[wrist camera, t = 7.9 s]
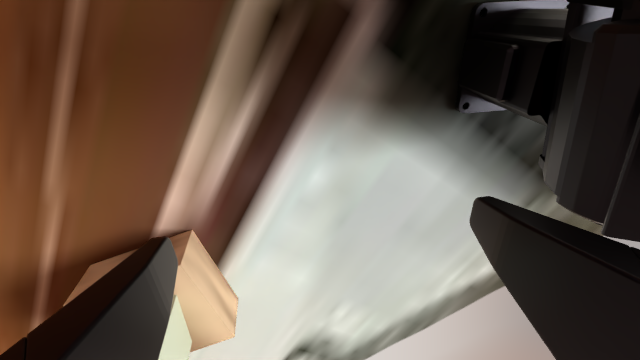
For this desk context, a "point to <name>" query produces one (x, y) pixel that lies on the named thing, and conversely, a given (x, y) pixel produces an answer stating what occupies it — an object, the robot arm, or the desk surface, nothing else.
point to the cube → (176, 335)
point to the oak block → (188, 291)
